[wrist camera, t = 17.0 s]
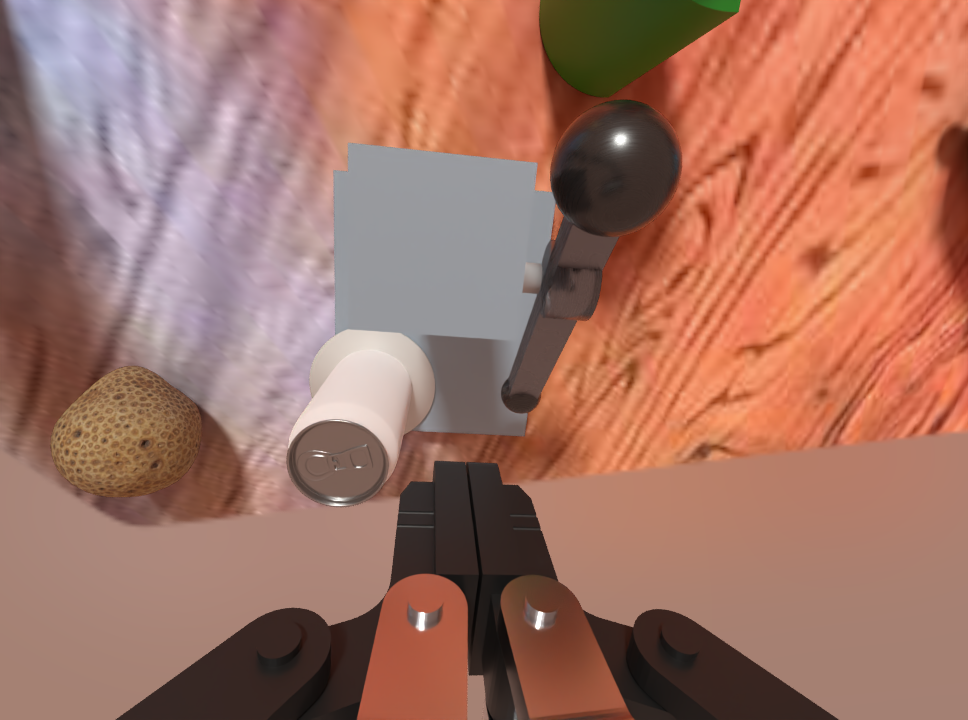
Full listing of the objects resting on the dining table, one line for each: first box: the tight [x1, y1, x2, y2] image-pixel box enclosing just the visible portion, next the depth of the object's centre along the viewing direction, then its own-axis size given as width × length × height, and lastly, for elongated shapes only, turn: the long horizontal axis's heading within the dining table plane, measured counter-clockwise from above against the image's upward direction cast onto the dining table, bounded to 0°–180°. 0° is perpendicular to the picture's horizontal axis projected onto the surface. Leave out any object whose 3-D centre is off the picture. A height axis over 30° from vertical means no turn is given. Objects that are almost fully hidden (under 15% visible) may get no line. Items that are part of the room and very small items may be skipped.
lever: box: [501, 100, 682, 414], centre depth 24 cm, size 4×22×4 cm
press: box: [309, 143, 556, 436], centre depth 27 cm, size 18×21×22 cm
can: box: [287, 350, 412, 507], centre depth 31 cm, size 6×6×12 cm
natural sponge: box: [50, 366, 202, 497], centre depth 34 cm, size 9×9×10 cm
